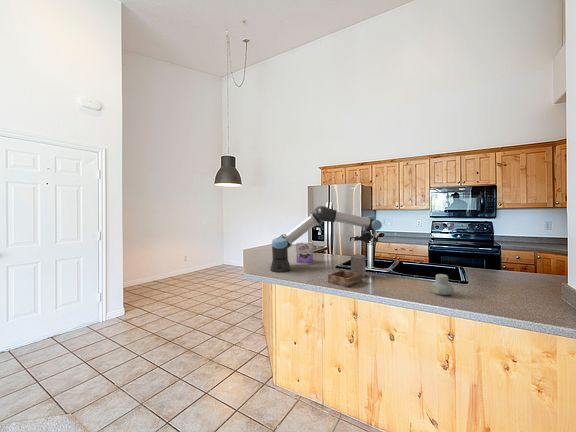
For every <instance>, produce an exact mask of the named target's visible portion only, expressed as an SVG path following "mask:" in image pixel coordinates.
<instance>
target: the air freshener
mask: <svg viewBox="0 0 576 432" xmlns="http://www.w3.org/2000/svg"><path fill="white" fill-rule="evenodd" d="M430 289H431V292H432V293H434V294H436V295H439V296H449V295H451V294H453V292H454V291H455V290H454V286H453V285H451V284H450V282H449V276H448V274H444V273H437V274H436V275H435V281H434V282H432V283H430Z"/></svg>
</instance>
